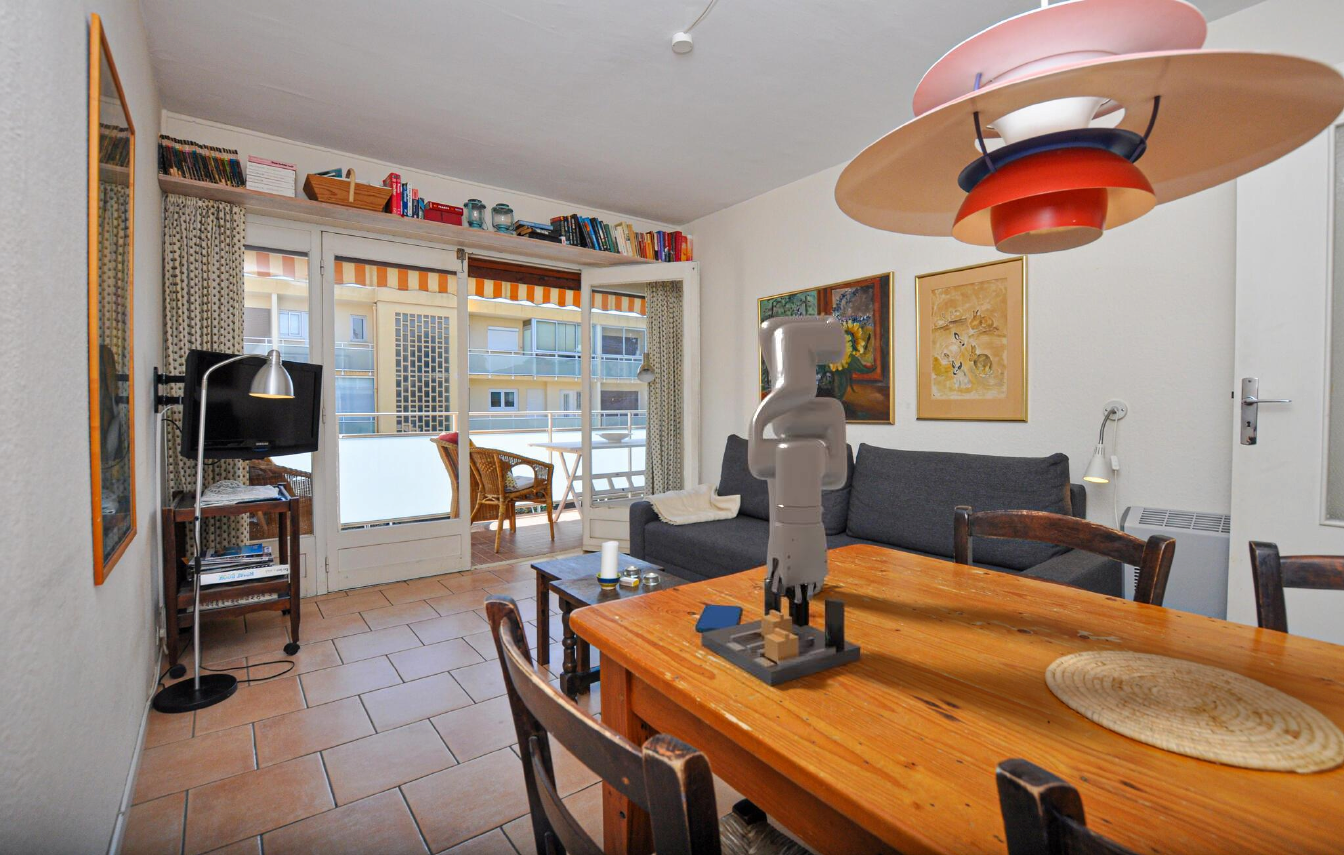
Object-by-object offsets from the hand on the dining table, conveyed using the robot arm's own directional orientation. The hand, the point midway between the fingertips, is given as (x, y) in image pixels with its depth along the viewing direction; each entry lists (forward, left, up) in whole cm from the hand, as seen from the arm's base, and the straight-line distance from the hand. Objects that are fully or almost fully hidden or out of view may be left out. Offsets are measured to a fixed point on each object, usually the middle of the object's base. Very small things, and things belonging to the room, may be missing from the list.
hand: (798, 623), depth 101 cm
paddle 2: (+10, +7, -1) cm, 12 cm away
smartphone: (+4, -17, -4) cm, 18 cm away
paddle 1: (+5, 0, -1) cm, 5 cm away
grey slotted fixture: (+5, +1, -3) cm, 6 cm away
